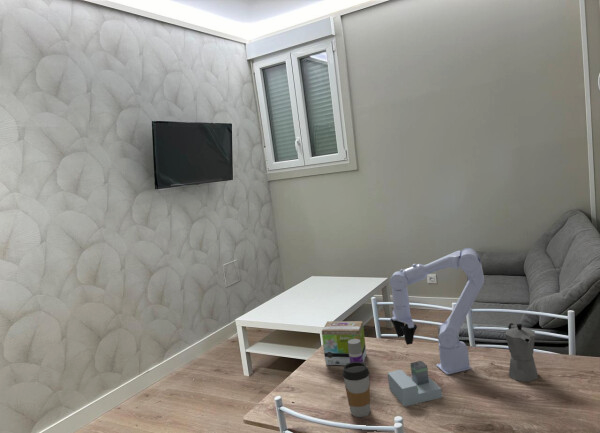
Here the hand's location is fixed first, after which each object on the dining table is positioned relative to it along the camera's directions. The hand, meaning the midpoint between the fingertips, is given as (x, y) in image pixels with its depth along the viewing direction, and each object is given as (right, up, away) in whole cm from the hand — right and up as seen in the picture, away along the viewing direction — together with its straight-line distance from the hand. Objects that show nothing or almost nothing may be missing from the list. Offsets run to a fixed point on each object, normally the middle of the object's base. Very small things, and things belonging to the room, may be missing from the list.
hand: (405, 340), depth 169 cm
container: (-18, -14, -4) cm, 23 cm away
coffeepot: (+36, -8, -14) cm, 40 cm away
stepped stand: (-2, -13, -18) cm, 22 cm away
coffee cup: (-20, -16, -24) cm, 35 cm away
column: (+1, -9, -16) cm, 19 cm away
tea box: (-20, -12, +13) cm, 27 cm away
